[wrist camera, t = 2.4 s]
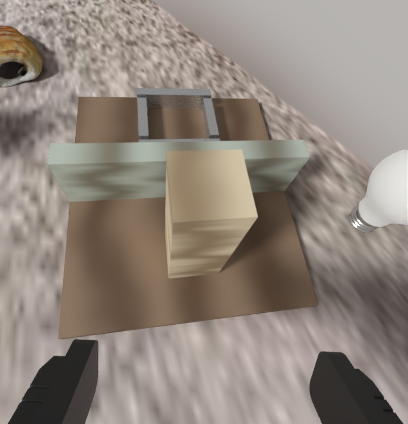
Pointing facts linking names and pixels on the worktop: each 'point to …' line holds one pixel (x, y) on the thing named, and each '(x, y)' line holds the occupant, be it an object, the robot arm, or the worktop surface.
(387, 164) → the light bulb
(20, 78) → the pastry
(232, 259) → the door mockup
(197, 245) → the block
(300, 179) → the worktop surface
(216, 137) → the keeper socket
